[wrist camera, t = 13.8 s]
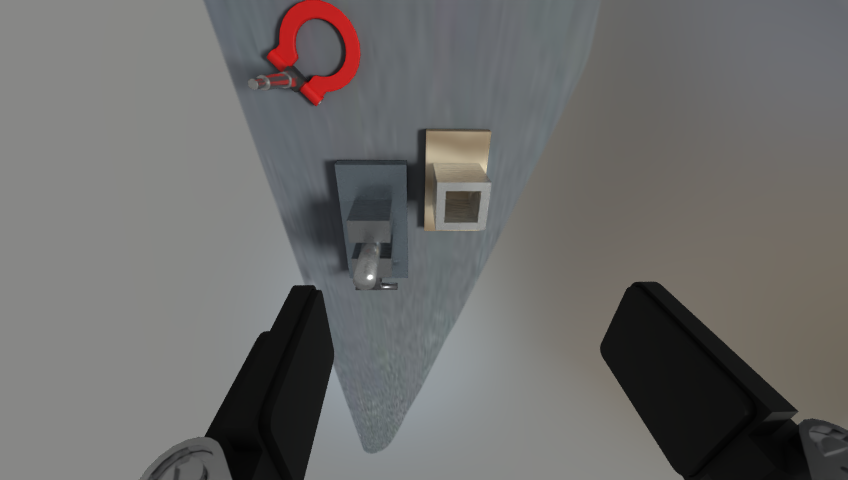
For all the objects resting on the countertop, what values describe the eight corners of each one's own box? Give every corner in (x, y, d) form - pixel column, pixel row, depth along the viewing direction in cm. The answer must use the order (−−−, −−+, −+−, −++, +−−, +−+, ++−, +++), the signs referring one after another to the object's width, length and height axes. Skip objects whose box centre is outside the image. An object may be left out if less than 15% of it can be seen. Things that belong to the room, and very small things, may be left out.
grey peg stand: (337, 160, 40) (306, 205, 28) (406, 160, 41) (404, 205, 29) (352, 270, 50) (333, 339, 38) (407, 270, 50) (407, 338, 38)
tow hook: (315, -20, 31) (261, 51, 34) (270, -68, 20) (195, 45, 23) (376, 52, 35) (323, 112, 37) (366, 46, 23) (291, 132, 26)
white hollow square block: (433, 163, 40) (437, 182, 34) (479, 163, 40) (491, 182, 34) (432, 205, 43) (435, 230, 37) (474, 205, 43) (485, 229, 37)
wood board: (426, 129, 39) (426, 131, 38) (489, 129, 39) (491, 131, 38) (424, 226, 46) (424, 230, 45) (477, 226, 46) (478, 230, 45)
